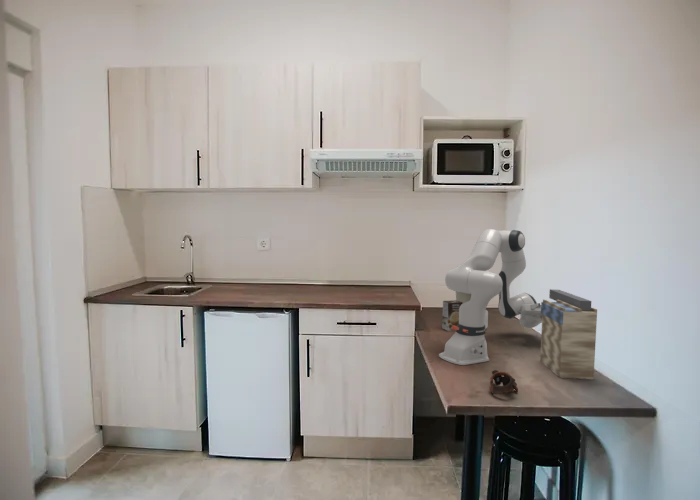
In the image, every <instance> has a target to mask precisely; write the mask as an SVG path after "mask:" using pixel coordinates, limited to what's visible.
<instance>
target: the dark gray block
mask: <svg viewBox="0 0 700 500" xmlns="http://www.w3.org/2000/svg"><path fill="white" fill-rule="evenodd" d="M548 298H549V299H551V300H553V301H554V302H556V300H561V301H563V302H566V303H568V304H570V305H573V306H575V307H578V308H580V309H582V311H591V307H592V300H589V299H588V298H587V299H586V298H583V297H581V296H578V295H575V294H572V293H569V292H567V291H564V290H561V289H553V288H552V289H551V288H550V289H549V297H548Z"/></svg>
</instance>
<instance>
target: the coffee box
mask: <svg viewBox="0 0 700 500" xmlns="http://www.w3.org/2000/svg"><path fill="white" fill-rule="evenodd" d="M462 304H463V302H460V301H457V300H456V299H454V300H443V301H442V320H441V328H442V329H443V330H445V331H447V332H451V331H453V332H454V331H455V332H456V330H453V329H452V326H453V325H455V326H457V325H458V323H459V308H460V306H461V305H462Z"/></svg>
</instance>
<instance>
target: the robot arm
mask: <svg viewBox="0 0 700 500" xmlns="http://www.w3.org/2000/svg"><path fill="white" fill-rule="evenodd" d="M525 245H526V238H525V235H524V233H523V232H522V231H520V230H516V229H513V230H507V229H506V230H502V229H501V230H497V229H494V228H487V229H484V230H483V232H482V233H481V234H480V236H479V237H478V238H477V240H476V242H475V244H474V247H473V249H472V250H471V252H470V255H469V256H468V257H467V259H466V260H465V261H464V262H462V263H461V264H460V265H459V266H457V267H455V268H451V269H449V270H448V271H447V273H446V274H445V278H444V279H445V285H446V287H447V288H448V290H451V291H454V292H455V293H456V292H461V293H468V294H471V299H470V301H467V302H465V303H463V304H462V305H461V306H460V308H459V323H458V325H457V326H455V325H453V326H452V329H453V330H455V332H454V333H453V335H452V336H451V337H450V338H449V339H448V340H447V341H446V343H445V345H444V351H442V352H440V353H438V357H439V358H440V359H442V360H444V361H446V362H448V363H451V364H454V365H460V366H467V365H472V364H478V363H484V362H489V361H490V358H489V356H488V347H487V346H488V345H487V340H486V337H485V334H486V329H487V328H485V325H484V321H485V311H486V310H487V306H488V304H489V303H490V301H491V300H492V299H494V298H495V297H496V296H497V295H498V307H497V308H498V311H499V314H500V315H501V316H502V317H503V318H506V319H511V320H512V319H513V318H515V317H517V316H519V315H520V317H519V324H520V325H521V326H522V327H523V328H526V329H533V328H536V327H537V326H539V325H540V324H542V314H541V303H538V301H536V299H535V297H534V296H533V295H531V294H530V293H526V292H522V293H520V294H517V295H515V296H512V297H511V295H510V286H511V284H512V282H513V281H514V280H515V279H516V278H518V277H519V276H520V275H521V274H523V272H524V271H525V269H526V267H527V261H526V257H525V252H524V249H523V248H524V247H525ZM499 253H500V258H501V269H500V271H499V273H495V272H492V271H489V270H490V269H492V268H493V267H494V265H495V263H496V260H497V257H498V256H499Z"/></svg>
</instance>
